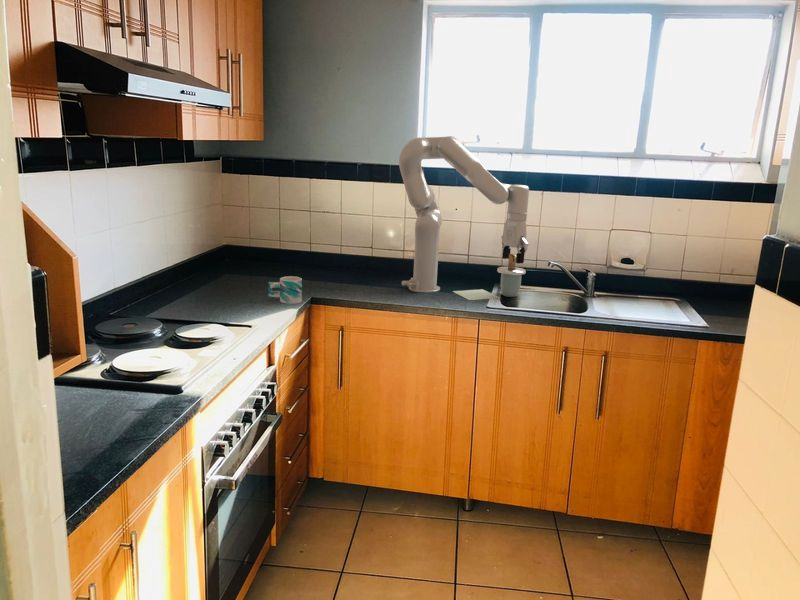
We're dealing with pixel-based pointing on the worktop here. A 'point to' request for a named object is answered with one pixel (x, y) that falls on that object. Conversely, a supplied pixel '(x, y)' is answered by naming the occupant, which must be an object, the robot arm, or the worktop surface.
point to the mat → (476, 294)
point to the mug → (287, 289)
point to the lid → (511, 267)
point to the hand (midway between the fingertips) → (512, 260)
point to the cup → (510, 285)
